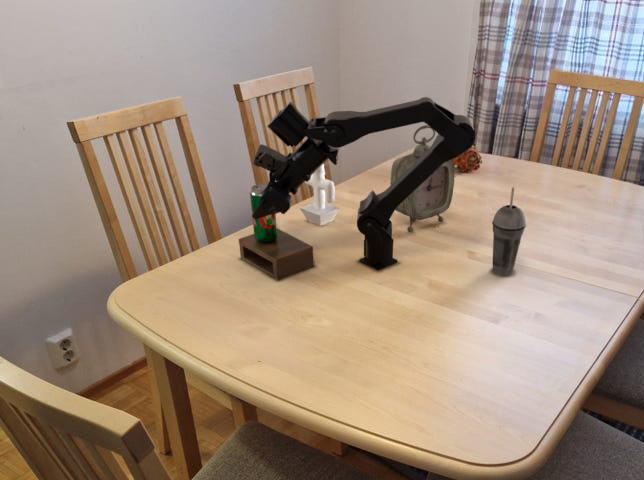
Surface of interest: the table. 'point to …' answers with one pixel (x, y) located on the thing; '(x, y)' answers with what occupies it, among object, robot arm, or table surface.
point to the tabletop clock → (425, 186)
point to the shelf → (277, 255)
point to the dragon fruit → (468, 160)
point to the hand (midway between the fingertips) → (256, 210)
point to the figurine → (320, 199)
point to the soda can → (266, 225)
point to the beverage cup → (507, 237)
